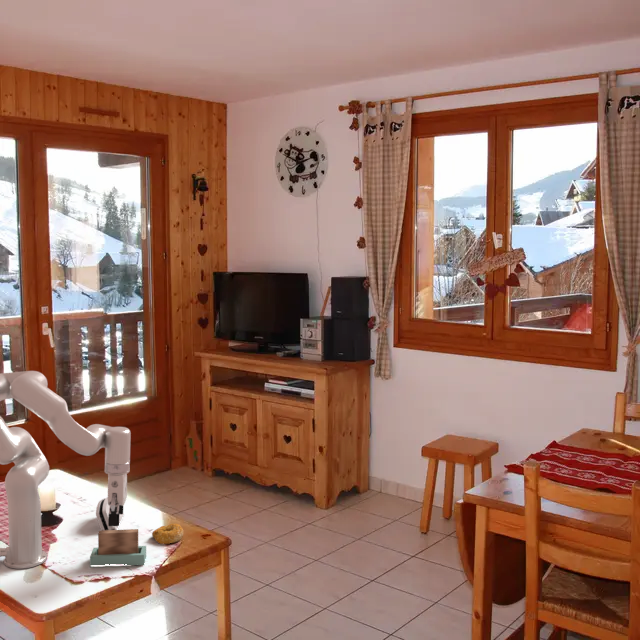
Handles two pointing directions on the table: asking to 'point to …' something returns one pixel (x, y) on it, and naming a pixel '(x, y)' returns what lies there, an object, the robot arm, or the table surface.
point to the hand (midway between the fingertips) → (115, 519)
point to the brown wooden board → (118, 542)
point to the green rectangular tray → (119, 558)
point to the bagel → (168, 534)
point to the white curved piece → (105, 515)
